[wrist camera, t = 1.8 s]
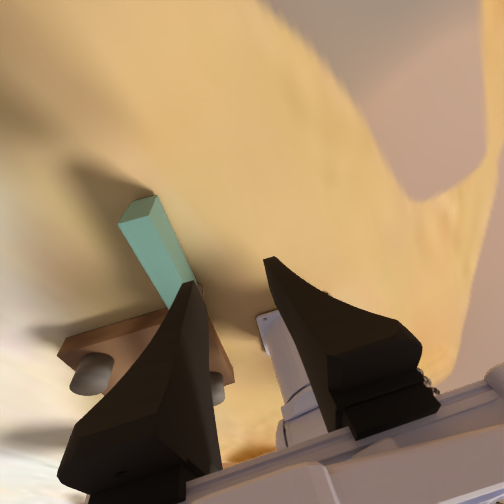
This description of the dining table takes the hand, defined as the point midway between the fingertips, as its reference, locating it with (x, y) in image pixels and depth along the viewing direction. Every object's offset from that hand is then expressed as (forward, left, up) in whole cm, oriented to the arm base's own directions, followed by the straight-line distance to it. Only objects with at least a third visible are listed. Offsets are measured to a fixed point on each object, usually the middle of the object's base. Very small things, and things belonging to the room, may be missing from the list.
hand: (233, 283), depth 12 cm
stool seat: (+12, +16, -9) cm, 21 cm away
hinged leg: (+5, +3, -9) cm, 11 cm away
